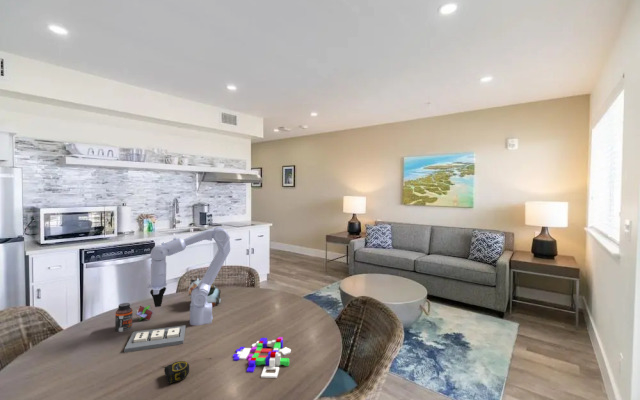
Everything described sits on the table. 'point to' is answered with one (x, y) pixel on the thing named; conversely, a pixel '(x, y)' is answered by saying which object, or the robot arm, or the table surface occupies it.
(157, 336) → the tile
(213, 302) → the lucky cat figurine
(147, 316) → the geometric puzzle
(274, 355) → the building block set
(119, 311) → the supplement bottle
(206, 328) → the table surface
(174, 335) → the tile
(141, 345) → the keypad board
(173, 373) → the tape measure
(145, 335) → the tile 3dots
